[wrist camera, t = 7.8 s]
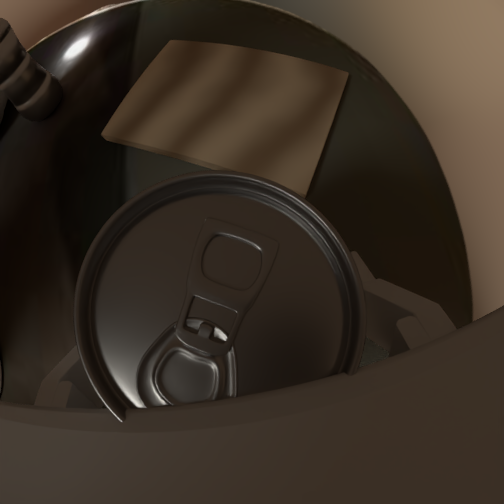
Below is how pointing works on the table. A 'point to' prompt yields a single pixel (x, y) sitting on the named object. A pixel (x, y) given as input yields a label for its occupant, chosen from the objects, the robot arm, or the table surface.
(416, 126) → the table surface
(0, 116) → the cereal bowl
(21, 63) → the plastic bottle
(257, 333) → the can
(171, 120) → the oak board
